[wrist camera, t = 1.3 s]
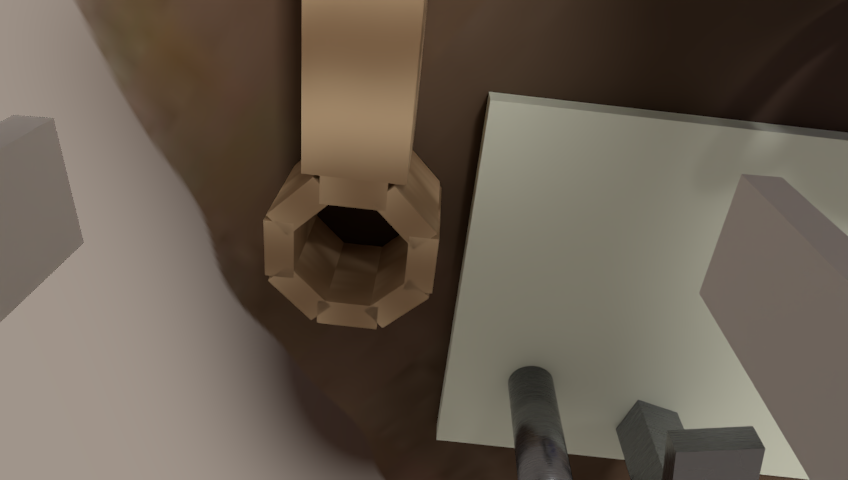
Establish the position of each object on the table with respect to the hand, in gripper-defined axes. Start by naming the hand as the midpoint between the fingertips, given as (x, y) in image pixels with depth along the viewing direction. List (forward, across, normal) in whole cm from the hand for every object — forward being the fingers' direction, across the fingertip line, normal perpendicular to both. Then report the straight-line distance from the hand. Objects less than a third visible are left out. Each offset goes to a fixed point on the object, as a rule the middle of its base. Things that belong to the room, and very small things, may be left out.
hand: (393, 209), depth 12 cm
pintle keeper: (+15, +11, -17) cm, 25 cm away
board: (+15, +14, -12) cm, 24 cm away
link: (+15, -2, -2) cm, 16 cm away
